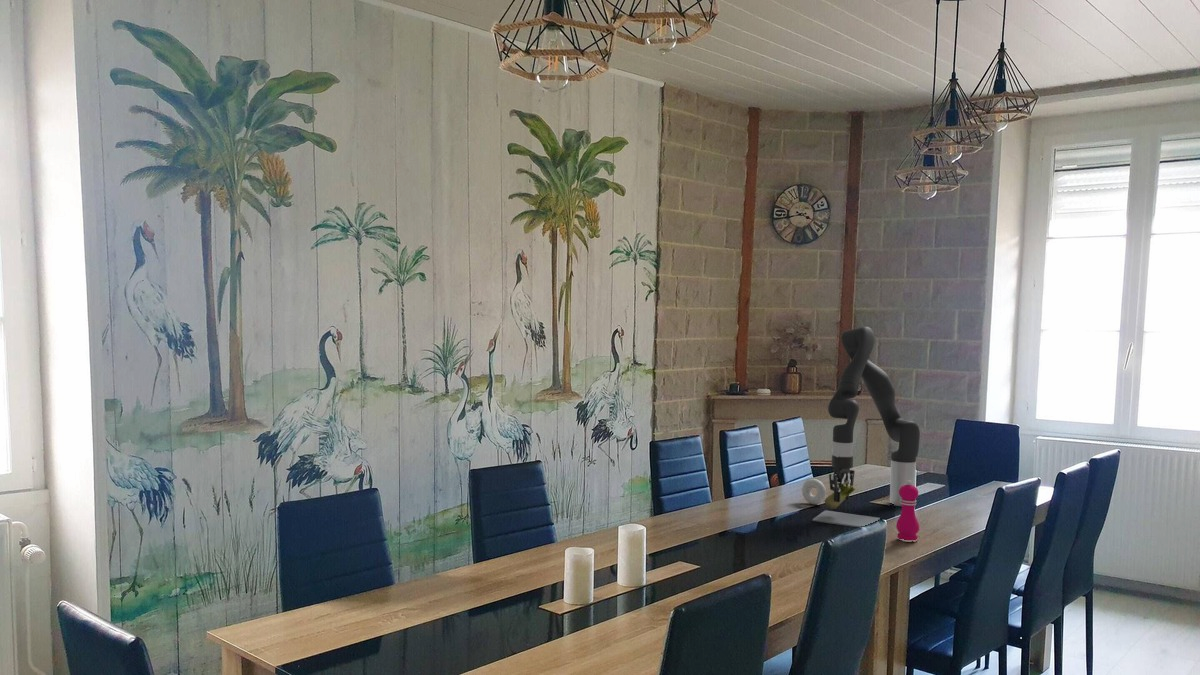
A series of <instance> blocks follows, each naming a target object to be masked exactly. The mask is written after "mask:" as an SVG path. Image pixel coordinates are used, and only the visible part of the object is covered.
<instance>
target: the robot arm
mask: <svg viewBox="0 0 1200 675" xmlns="http://www.w3.org/2000/svg"><path fill="white" fill-rule="evenodd" d="M840 337H841V338H840V340H841V343H842V346H843V347H842V348H844V351H845V352H846V354H847V355H848V357H849V359H850V362H849V363H848V364H847V365H846V367H845V368H844V369H843V371H842V373H841V376H840V378H839V383H838V387H837V390H836V391H835V393H834V394H833V396H832V397H831V399H830V401H829V403H828V406H827V412H828V414H829V415H830V417H831V418H834V419H843V420H847V421H846V422H845V423H843V424H836V425H834V426H833V428H832V444H831V467H833V470H834V471H833V473H829V475H828V479H829V490H830V491H833V493H834V501H835V502H840V490H841V486H842V485H843V484H845V485H846V487H847V486H850V485H851V486H853V487H854V479H855V470H854V469H853V468H854V431H855V429H854V428H855V425H856V421H857V417H858V415H859V412H860V405H859V403H858V402H857V401H856V400H855V398H856V397H857V395H858V392H859V388H860V383H861V380H862V381H863V382H864V385H865V387H866V389H867V391H868V393H869V395H870V397H871V399H872V401H873V403H874V405H875V407H876V409H877V411H878V413H879V415H880V418H881V419H882V422H883V425H884V428H885V431H886V432H887V435H888V437H889V438H890V440H892V441H893V442H896V443H898V448H897V449H896V450H895V451H892V452H891V455H890V477H889V478H890V484H889V491H890V492H889V504H890V503H892V504H894V505H893V506H896V507H902V504H901V503H900V502H901V499H902V498H901V496H900V495H899V490H900V488H901V487H902V486H903V485H907V484H906V482H907V481H908V480H910V481H911V482H912V484H911V485H913V486H915V487H916V477H917V476H916V473H917V472H916V471H917V469H916V466H917V458H918V455H919V452H920V451H919V450H920V440H921V439H920V438H921V436H920V435H921V434H920V433H921V432H920V431H921V430H920V427H919V425H918V424H917V423H916V422H915V421H913V420H909V419H904V418H903V417H902V416H901V415H900V413H899V412H898V410H897V408H896V402H895V401H896V390H895V387H894V385H893V383H892V380H891V378H890V377H889V375H888V373H887V372H886V371H884V370H883V369H882V368H881V367H879V366H878V365H877V364H875V363H873V362H872V361H871V360H870V356H871V354H872V351H873V350H874V347H875V343H876V342H875V341H876V338H875V337H876V336H875V334H874V331H873V329H872V328H870V327H869V326H860V327H855V328H852V329H847V330H845V331H843V332H842V334H841V336H840ZM852 469H853V470H852ZM849 499H850V494H849V495H848V496H847V497H846V499H845V501H846V500H848V501H849ZM892 504H891V505H892Z"/></svg>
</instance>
